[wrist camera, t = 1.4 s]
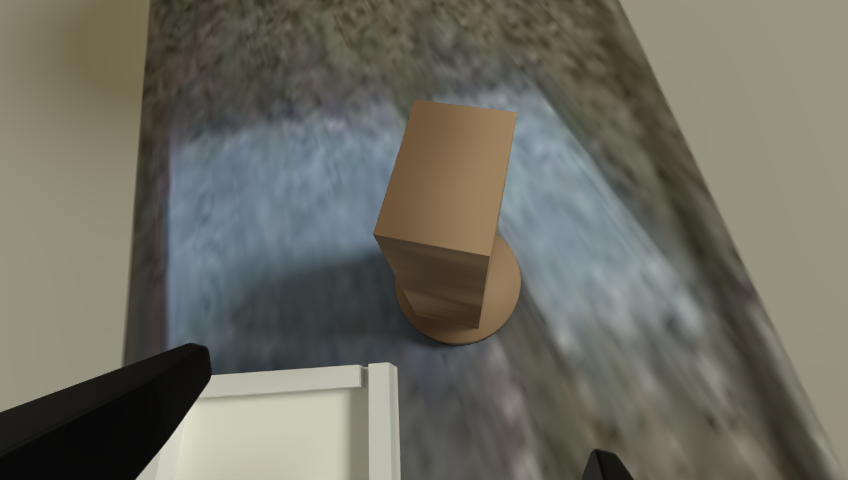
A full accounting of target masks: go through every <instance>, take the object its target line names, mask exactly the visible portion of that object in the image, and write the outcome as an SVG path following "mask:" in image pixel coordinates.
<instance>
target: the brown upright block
mask: <svg viewBox="0 0 848 480" xmlns="http://www.w3.org/2000/svg"><path fill="white" fill-rule="evenodd" d="M516 117H517V112H510V111H501V110H493V109H485V108H477V107H469V106H461V105H453V104H444V103H436V102H428V101H420V100H415V101H414V104H413V107H412V111H411V114H410V117H409V120H408V123H407V127H406V130H405V133H404V136H403V140H402V143H401V146H400V149H399V152H398V156H397V159H396V162H395V165H394V169H393V172H392V175H391V178H390V181H389V185H388V188H387V191H386V194H385V198H384V201H383V204H382V207H381V210H380V214H379V217H378V220H377V223H376V227H375V230H374V233H373V235H374V237H375V239H376V241H377V242H378V244H379V246H380V248H381V250H382V252H383V254H384V256H385V257H386V259H387V261H388V263H389V265H390V267H391V269H392V271H393V272H394V274H395V280H394V283H395V292H396V297H397V300H398V303H399V305H400V307H401V309H402V311H403V313H404V314H405V316H406V317H407V319H408V320H409V322H410V323H411V324H412V325H413V326H414V327H415V328H416V329H417V330H418V331H419V332H420V333H421V334H423V335H425V336H426V337H428V338H430V339H432V340H434V341H436V342H439V343H443V344H448V345H469V344H473V343H477V342H480V341H482V340H485V339H487V338H488V337H490V336H492V335H493V334H494V333H496V332H497V331H498V330H499V329H500V328H501V327H502V326H503V325H504V324H505V323H506V322H507V320H508V319H509V317H510V316H511V314H512V312H513V310H514V308H515V306H516V303H517V300H518V297H519V293H520V284H521V280H520V271H519V266H518V263H517V260H516V258H515V256H514V254H513V252H512V251H511V249H510V248H509V246H508V245H507V244H506V243H505V242H504V240H503V239H501V238H500V237H499V236H498V235H497V234H496V232H497V227H498V221H499V215H500V209H501V204H502V198H503V192H504V186H505V180H506V175H507V169H508V163H509V157H510V152H511V146H512V140H513V134H514V129H515V123H516Z"/></svg>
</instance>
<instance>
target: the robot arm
mask: <svg viewBox="0 0 848 480" xmlns="http://www.w3.org/2000/svg"><path fill="white" fill-rule="evenodd" d="M211 375H212V369H211V362H210V355H209V350H208V348H207V347H206V346H203V345H199V344H196V343H188V344H185V345H182V346H179V347H177V348H174V349H171V350H169V351H166V352H163V353H160V354H158V355H155V356H152V357H150V358H147V359H144V360H141V361H139V362H136V363H133V364H131V365H128V366H125V367H122V368H120V369H117V370H114V371H111V372H109V373H106V374H103V375H101V376H98V377H95V378H93V379H90V380H87V381H84V382H82V383H79V384H76V385H74V386H71V387H68V388H65V389H63V390H60V391H57V392H54V393H52V394H49V395H46V396H43V397H41V398H38V399H35V400H33V401H30V402H27V403H24V404H22V405H19V406H16V407H14V408H11V409H8V410H5V411H3V412H0V480H136V479H137V477H138V476H139V475H140V474H141V473H142V471H143V470H144V469H145V468H146V467H147V465H148V464H149V463H150V462H151V461H152V459H153V458H154V457H155V456H156V455H157V453H158V452H159V451H160V450H161V449H162V447H163V446H164V445H165V444H166V442H167V441H168V440H169V438H170V437H171V436H172V434H173V433H174V432H175V430H176V429H177V427H178V426H179V425H180V423H181V422H182V420H183V419H184V417H185V416H186V415H187V413H188V412H189V410H190V409H191V407H192V406H193V404H194V403H195V402H196V400H197V399H198V397H199V396H200V394H201V393H202V392H203V390H204V389H205V387H206V386H207V384H208V383H209V381H210V379H211ZM582 480H634V479H633V477H632V476H631V475H630V473H629V472H628V470H627V469H626V467H625V466H624V465H623V463H622V462H621V460H620V459H619V457H618V456H617V455H616V454H614V453H612V452H609V451H605V450H601V449H594V450H593V451H592V452H591V455H590V457H589V460H588V463H587V465H586V468H585V470H584V473H583V477H582Z"/></svg>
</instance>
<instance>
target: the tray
mask: <svg viewBox="0 0 848 480" xmlns="http://www.w3.org/2000/svg"><path fill="white" fill-rule="evenodd" d="M136 480H401V473H400V441H399V410H398V378H397V367H396V366H394V365H392V364H390V363H375V364H369V367H363V366H360V365H348V366H334V367H320V368H306V369H293V370H279V371H265V372H251V373H238V374H224V375H211V379H210V381H209V383H208V384H207V386H206V387H205V389H204V390H203V392H202V393H201V394H200V396H199V397H198V399H197V400H196V402H195V403H194V404H193V406H192V407H191V409H190V410H189V412H188V413H187V415H186V416H185V417H184V419H183V420H182V422H181V423H180V425H179V426H178V427H177V429H176V430H175V432H174V433H173V434H172V436H171V437H170V438H169V440H168V441H167V442H166V444H165V445H164V446H163V447H162V449H161V450H160V451H159V452H158V453H157V455H156V456H155V457H154V458H153V459H152V461H151V462H150V463H149V464H148V465H147V467H146V468H145V469H144V470H143V471H142V473H141V474H140V475H139V476H138V477H137V479H136Z"/></svg>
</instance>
